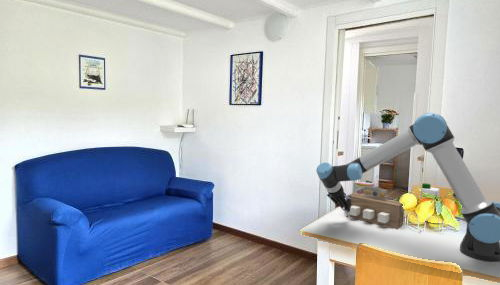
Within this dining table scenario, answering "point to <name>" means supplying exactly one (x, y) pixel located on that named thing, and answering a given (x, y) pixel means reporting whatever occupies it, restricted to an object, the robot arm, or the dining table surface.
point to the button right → (384, 217)
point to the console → (378, 206)
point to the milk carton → (429, 190)
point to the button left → (355, 210)
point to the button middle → (369, 213)
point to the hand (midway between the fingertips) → (348, 213)
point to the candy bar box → (361, 187)
